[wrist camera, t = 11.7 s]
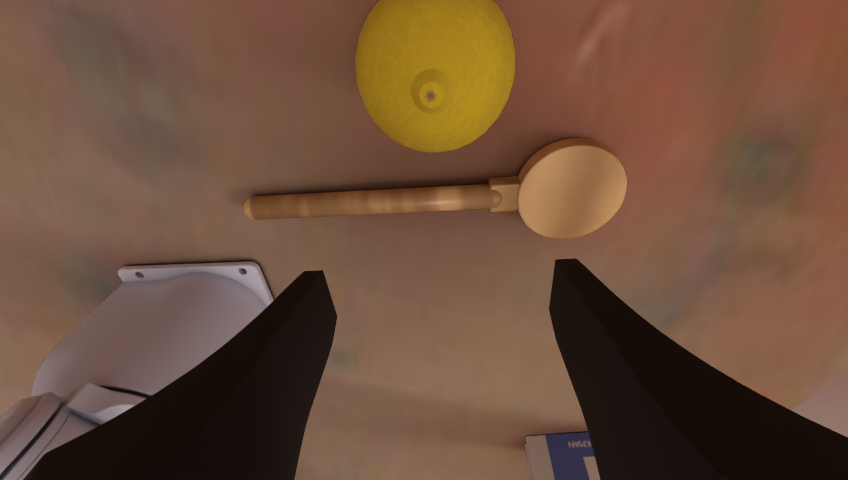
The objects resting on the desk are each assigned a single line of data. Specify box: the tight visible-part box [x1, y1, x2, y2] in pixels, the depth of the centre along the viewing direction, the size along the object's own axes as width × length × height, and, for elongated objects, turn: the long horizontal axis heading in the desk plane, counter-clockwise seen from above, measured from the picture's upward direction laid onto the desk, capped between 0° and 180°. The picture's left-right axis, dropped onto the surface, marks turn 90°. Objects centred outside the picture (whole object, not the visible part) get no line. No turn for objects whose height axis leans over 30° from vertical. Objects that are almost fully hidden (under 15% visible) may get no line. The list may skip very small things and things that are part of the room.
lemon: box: [355, 0, 515, 153], centre depth 13 cm, size 6×6×8 cm
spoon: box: [244, 138, 627, 239], centre depth 20 cm, size 20×5×1 cm, turn 95°
